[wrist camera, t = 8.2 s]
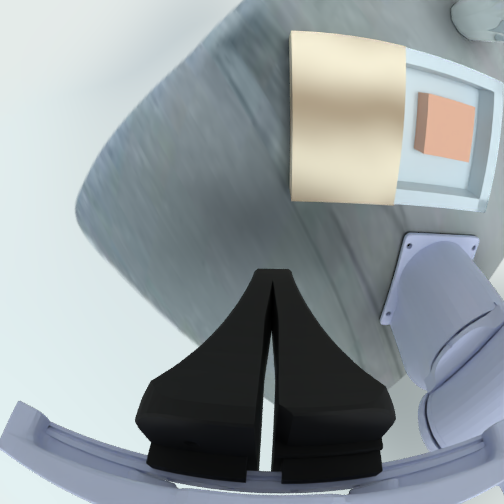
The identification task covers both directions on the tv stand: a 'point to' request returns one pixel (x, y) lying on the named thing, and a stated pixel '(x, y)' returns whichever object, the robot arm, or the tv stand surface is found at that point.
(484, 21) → the milkshake
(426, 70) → the box
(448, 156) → the tile
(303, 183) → the beige wooden block
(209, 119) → the tv stand surface
